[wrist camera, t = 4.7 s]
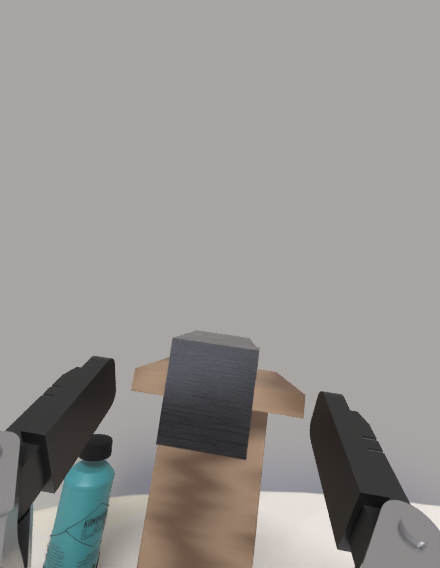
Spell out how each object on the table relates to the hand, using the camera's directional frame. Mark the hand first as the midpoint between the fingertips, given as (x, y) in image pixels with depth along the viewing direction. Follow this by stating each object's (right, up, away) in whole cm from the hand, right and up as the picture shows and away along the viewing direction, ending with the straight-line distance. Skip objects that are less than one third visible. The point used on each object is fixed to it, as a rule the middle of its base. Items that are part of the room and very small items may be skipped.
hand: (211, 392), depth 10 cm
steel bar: (0, -3, +8) cm, 9 cm away
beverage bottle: (-19, -37, +23) cm, 47 cm away
